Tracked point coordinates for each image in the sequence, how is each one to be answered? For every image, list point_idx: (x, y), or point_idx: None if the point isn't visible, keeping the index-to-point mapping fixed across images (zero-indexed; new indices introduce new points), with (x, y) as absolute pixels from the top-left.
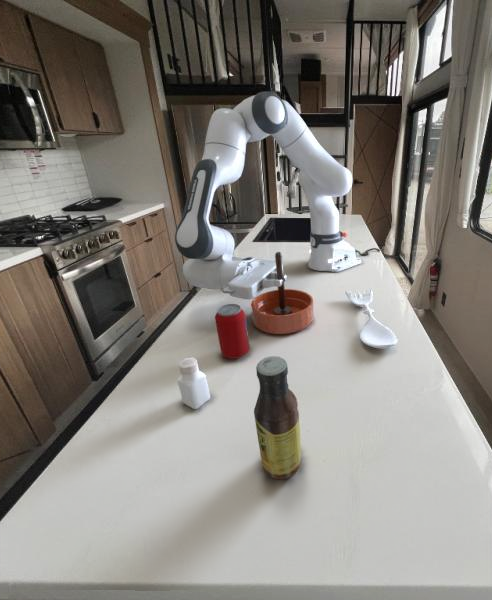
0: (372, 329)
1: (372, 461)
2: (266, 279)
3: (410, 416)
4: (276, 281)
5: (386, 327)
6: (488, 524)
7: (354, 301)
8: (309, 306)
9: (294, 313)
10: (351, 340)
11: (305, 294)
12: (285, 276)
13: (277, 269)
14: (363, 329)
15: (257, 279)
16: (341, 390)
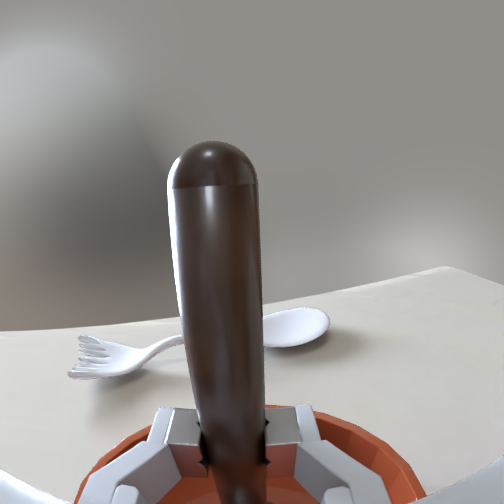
0: (263, 335)
1: (473, 302)
2: (351, 492)
3: (411, 298)
4: (315, 428)
5: None
6: (447, 274)
7: (123, 368)
8: (265, 405)
9: (346, 425)
10: (301, 366)
11: (134, 444)
12: (180, 410)
13: (262, 353)
14: (272, 342)
15: (472, 492)
16: (435, 338)
